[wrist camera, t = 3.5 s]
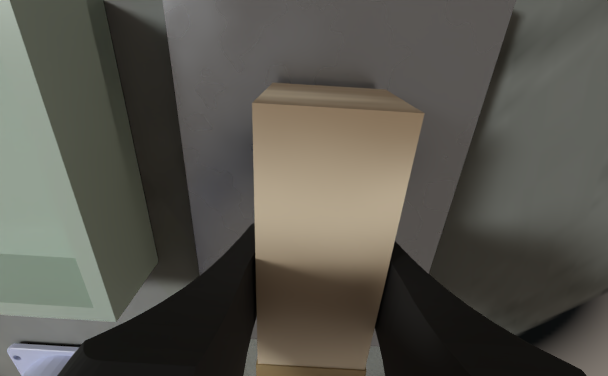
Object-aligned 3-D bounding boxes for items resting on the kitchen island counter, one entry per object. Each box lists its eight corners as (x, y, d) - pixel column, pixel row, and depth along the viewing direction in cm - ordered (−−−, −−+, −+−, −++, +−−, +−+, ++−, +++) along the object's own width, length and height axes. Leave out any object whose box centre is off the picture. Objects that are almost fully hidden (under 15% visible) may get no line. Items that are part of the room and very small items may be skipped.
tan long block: (346, 323, 16) (357, 409, 12) (269, 319, 16) (257, 403, 12) (386, 89, 10) (427, 114, 7) (271, 82, 10) (249, 103, 7)
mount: (399, 335, 19) (417, 396, 16) (213, 324, 19) (192, 382, 16) (499, 2, 11) (579, -15, 8) (172, -18, 11) (111, -44, 8)
